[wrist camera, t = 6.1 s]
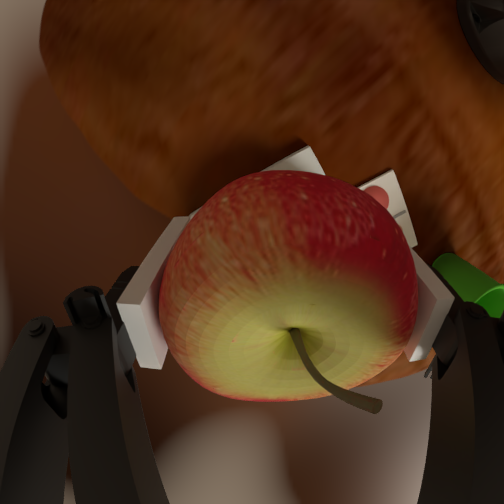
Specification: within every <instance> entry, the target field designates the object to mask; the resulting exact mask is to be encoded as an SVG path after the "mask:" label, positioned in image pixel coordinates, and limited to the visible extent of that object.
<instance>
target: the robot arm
mask: <svg viewBox="0 0 504 504" xmlns="http://www.w3.org/2000/svg"><path fill="white" fill-rule="evenodd" d="M457 11H458V16H459V20H460V23H461V26H462V29H463V32H464V34H465V36H466V38H467V41H468V43H469V45H470V46H471V48H472V50H473V52H474V53H475V55H476V57H477V58H478V60H479V61H480V62H481V64H482V65H483V66H484V68H485V69H486V70H487V71H488V72H489V73H490V74H491V75H492V76H493V77H494V78H495V79H496V80H497V81H499V82H500V83H502V84H504V0H457ZM189 222H190V217H174V218H173V219H172V221H171V222H170V224H169V225H168V226H167V228H166V229H165V231H164V232H163V233H162V235H161V236H160V238H159V239H158V241H157V242H156V243H155V245H154V246H153V248H152V249H151V251H150V252H149V253H148V255H147V256H146V258H145V259H144V261H143V263H142V264H141V266H131V267H129V268H128V269H126V270H125V271H124V272H122V273H121V275H120V276H119V277H118V279H117V280H116V282H115V283H114V284H113V286H112V289H110V290H109V292H108V293H107V295H106V296H105V297H104V294H103V291H102V289H100V288H99V287H96V286H85V287H82V288H79V289H76V290H75V291H73V292H71V293H70V294H69V295H68V296H67V297H66V298H65V300H64V302H63V304H64V307H65V309H66V311H67V313H68V316H69V318H70V320H71V322H72V324H73V325H72V326H66V327H57V328H56V327H55V325H54V323H53V321H52V319H51V318H49V317H47V316H40V317H36V318H33V319H31V320H30V321H29V322H28V323H27V324H26V325H25V326H24V328H23V329H22V331H21V332H20V334H19V336H18V338H17V340H16V342H15V344H14V345H13V347H12V349H11V351H10V353H9V355H8V357H7V359H6V361H5V363H4V366H3V368H2V370H1V372H0V504H63V501H64V488H65V477H66V469H67V462H68V455H69V457H70V467H71V476H72V482H73V489H74V495H75V501H76V504H169V501H168V498H167V496H166V492H165V489H164V487H163V484H162V481H161V478H160V474H159V471H158V468H157V465H156V461H155V458H154V454H153V451H152V447H151V444H150V440H149V436H148V432H147V428H146V424H145V419H144V415H143V411H142V406H141V401H140V396H139V391H138V386H137V380H136V374H135V372H134V369H133V367H132V364H133V362H134V359H135V357H137V360H138V362H139V364H140V367H146V368H154V369H162V366H163V362H164V359H165V356H166V353H167V350H168V346H167V343H166V341H165V339H164V335H163V331H162V327H161V323H160V319H159V292H160V286H161V282H162V277H163V273H164V270H165V266H166V264H167V261H168V259H169V256H170V254H171V252H172V250H173V248H174V246H175V244H176V242H177V240H178V238H179V236H180V235H181V233H182V232H183V230H184V228H185V227H186V225H187V224H188V223H189ZM409 248H410V251H411V254H412V257H413V260H414V264H415V268H416V274H417V283H418V311H417V318H416V323H415V326H414V329H413V332H412V335H411V338H410V340H409V342H408V344H407V346H406V348H405V349H404V352H405V354H406V356H407V358H408V360H409V362H410V361H415V360H421V359H426V357H427V355H428V354H429V352H430V350H431V348H432V347H433V348H434V350H435V352H436V355H435V357H434V358H433V360H432V362H431V364H430V365H429V367H428V369H427V371H426V372H425V376H424V377H425V378H426V377H427V376H428V374H429V373H430V371H432V375H431V377H430V378H431V379H432V402H431V419H430V431H429V440H428V448H427V456H426V463H425V468H424V474H423V480H422V485H421V489H420V494H419V498H418V502H417V504H504V311H503V313H502V315H501V317H500V318H495V317H490V316H489V314H488V312H487V311H486V310H485V309H484V308H483V307H482V306H480V305H479V304H477V303H474V302H469V301H466V302H464V301H463V299H462V298H461V297H460V296H459V295H458V293H457V292H456V291H455V290H454V289H453V287H452V286H451V285H449V283H448V282H447V280H446V279H444V277H443V276H442V275H441V274H440V272H439V271H438V270H436V269H435V268H433V267H432V266H430V265H429V264H426V263H425V262H424V261H423V260H422V259H421V258H420V257H419V256H418V255H417V253H416V252H415V251H414V250H413V249H412V248H411V247H410V246H409ZM44 375H45V376H46V377H47V381H46V383H45V384H43V383H42V381H43V377H44Z"/></svg>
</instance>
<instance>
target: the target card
mask: <svg viewBox="0 0 504 504" xmlns="http://www.w3.org/2000/svg"><path fill="white" fill-rule="evenodd" d="M357 188H359V189H361V190H363V191H364V192H366V193H367V194H369V195H371V196H372V197H373V198H374V199H376V200H377V201H378V202H379V203H380V204H381V205H382V206H383V207H385V208H386V209H387V210H388V211H389V213H390V214H391V215H392V217H393V218H394V219H395V221H396V222H397V224H398V225H399V227H400V228H401V230H402V232H403V234H404V236H405V238H406V240H407V243H408V245H409V246H410V247H411V248H412V247H414V246H416V245H418V243H417V240H416V236H415V233H414V229H413V226H412V223H411V219H410V216H409V213H408V210H407V207H406V204H405V201H404V198H403V195H402V192H401V189H400V187H399V184H398V181H397V179H396V176H395V173H394V171H393V170H390V171H388V172H386V173H384V174H382V175H380V176H378V177H376V178H374V179H372V180H371V181H369V182H367V183H365V184H363V185H361V186H359V187H357Z"/></svg>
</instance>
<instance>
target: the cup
mask: <svg viewBox="0 0 504 504" xmlns="http://www.w3.org/2000/svg"><path fill="white" fill-rule="evenodd" d="M432 267H433V268H435V269H436V270H438V271H439V272H440V274H441V275H442V276H443V277H444V279H446V280H447V282H448V283H449V285H451V286H452V287H453V289H454V290H455V291H456V292H457V293H458V295H459V296H460V297H461V298H462V299H463V301H464V302H466V301H469V302H474V303H477V304H479V305H480V306H482V307H483V308H484V309H485V310H486V311H487V312H488V314H489V316H490V317H495V318H500V317H501V315H502V313H503V311H504V284H499V283H498V282H497V281H495V280H494V279H492V278H491V277H489V276H488V275H486V274H485V273H483V272H482V271H480V270H479V269H477V268H476V267H474V266H473V265H471V264H470V263H468V262H467V261H465V260H463V259H462V258H460V257H459V256H457V255H455V254H453V253H445V254H442V255H441V256H439V257H438V258H437V259H436V260H435V262H434V263H433V265H432Z"/></svg>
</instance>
